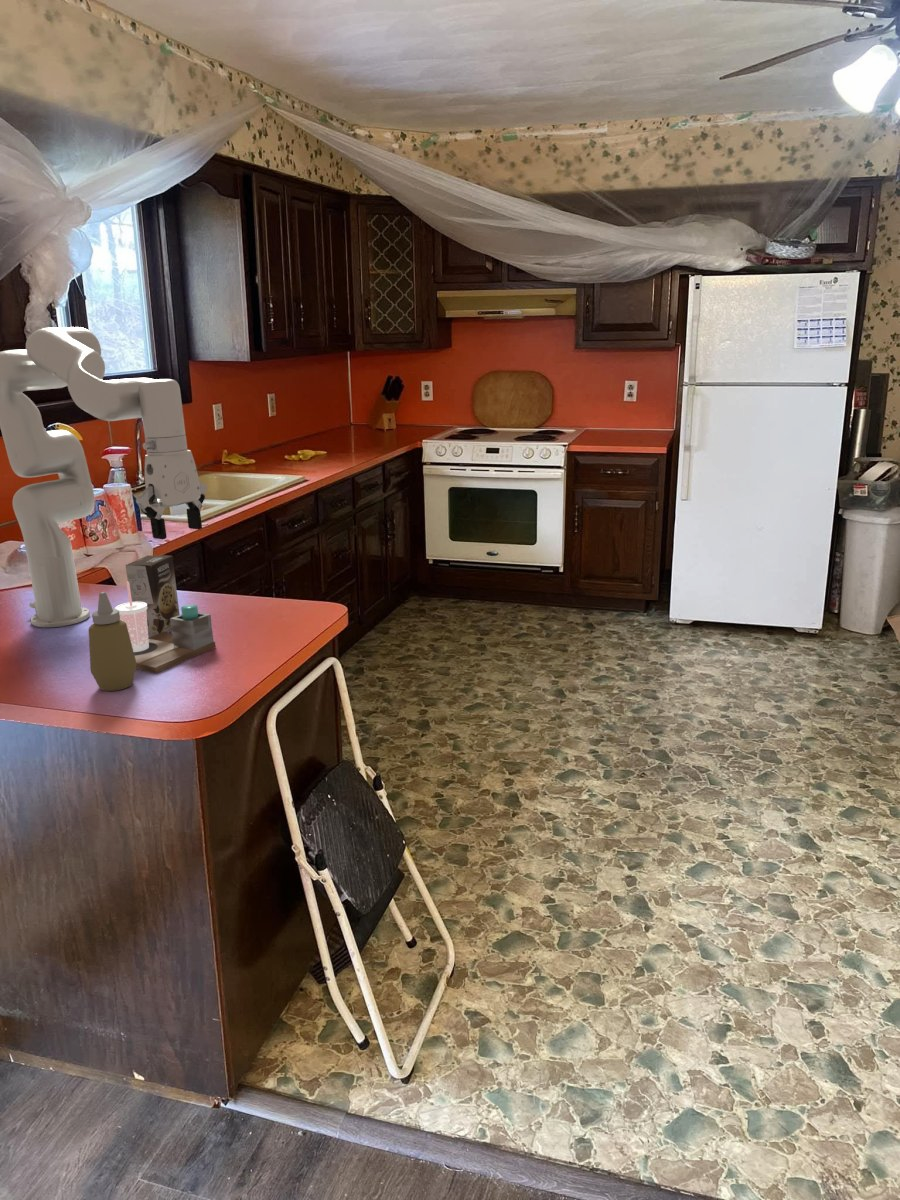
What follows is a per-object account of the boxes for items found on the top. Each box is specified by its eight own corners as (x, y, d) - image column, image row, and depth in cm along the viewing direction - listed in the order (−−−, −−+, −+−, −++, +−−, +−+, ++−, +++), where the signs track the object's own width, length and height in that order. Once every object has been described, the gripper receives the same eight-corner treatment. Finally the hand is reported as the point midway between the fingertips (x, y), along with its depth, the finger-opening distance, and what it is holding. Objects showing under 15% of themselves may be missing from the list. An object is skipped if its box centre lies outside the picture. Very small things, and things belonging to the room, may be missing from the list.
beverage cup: (150, 641, 185) (141, 576, 181) (155, 649, 180) (146, 583, 176) (119, 646, 183) (109, 580, 178) (123, 655, 177) (113, 588, 173)
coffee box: (160, 638, 192) (150, 565, 187) (134, 636, 193) (123, 564, 188) (182, 624, 200) (173, 554, 195) (156, 623, 202) (147, 554, 197)
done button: (179, 622, 181) (177, 608, 181) (191, 617, 184) (189, 603, 183) (190, 624, 180) (189, 610, 179) (202, 619, 183) (200, 605, 182)
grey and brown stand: (103, 661, 179) (97, 627, 177) (164, 637, 192) (160, 605, 190) (156, 673, 172) (151, 637, 170) (215, 647, 185) (211, 614, 183)
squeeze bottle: (100, 678, 170) (86, 588, 165) (144, 676, 170) (131, 585, 165) (87, 695, 162) (72, 600, 157) (133, 692, 163) (119, 598, 157)
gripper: (144, 452, 162) (157, 544, 167) (213, 440, 177) (223, 526, 182) (116, 450, 166) (129, 541, 171) (186, 439, 180) (196, 523, 185)
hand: (178, 533), depth 176 cm, fingers open, 8 cm apart
